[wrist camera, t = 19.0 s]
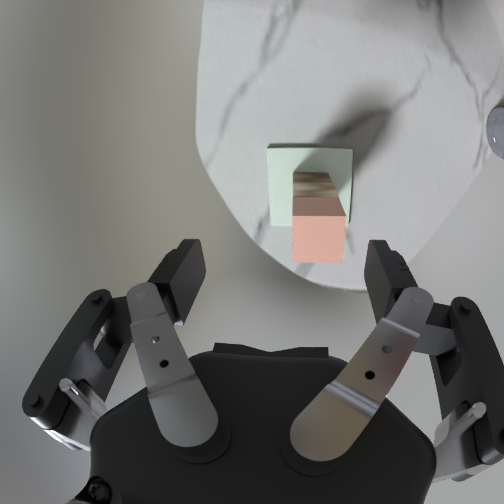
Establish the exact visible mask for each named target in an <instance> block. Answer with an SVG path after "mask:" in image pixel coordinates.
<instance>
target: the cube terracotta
mask: <svg viewBox="0 0 504 504" xmlns="http://www.w3.org/2000/svg"><path fill="white" fill-rule="evenodd" d="M345 228H346V214H345V212H344V209H343V207H342V204H341V202H340V199H339V197H293V203H292V239H293V262H342V257H343V248H344V238H345Z"/></svg>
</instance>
